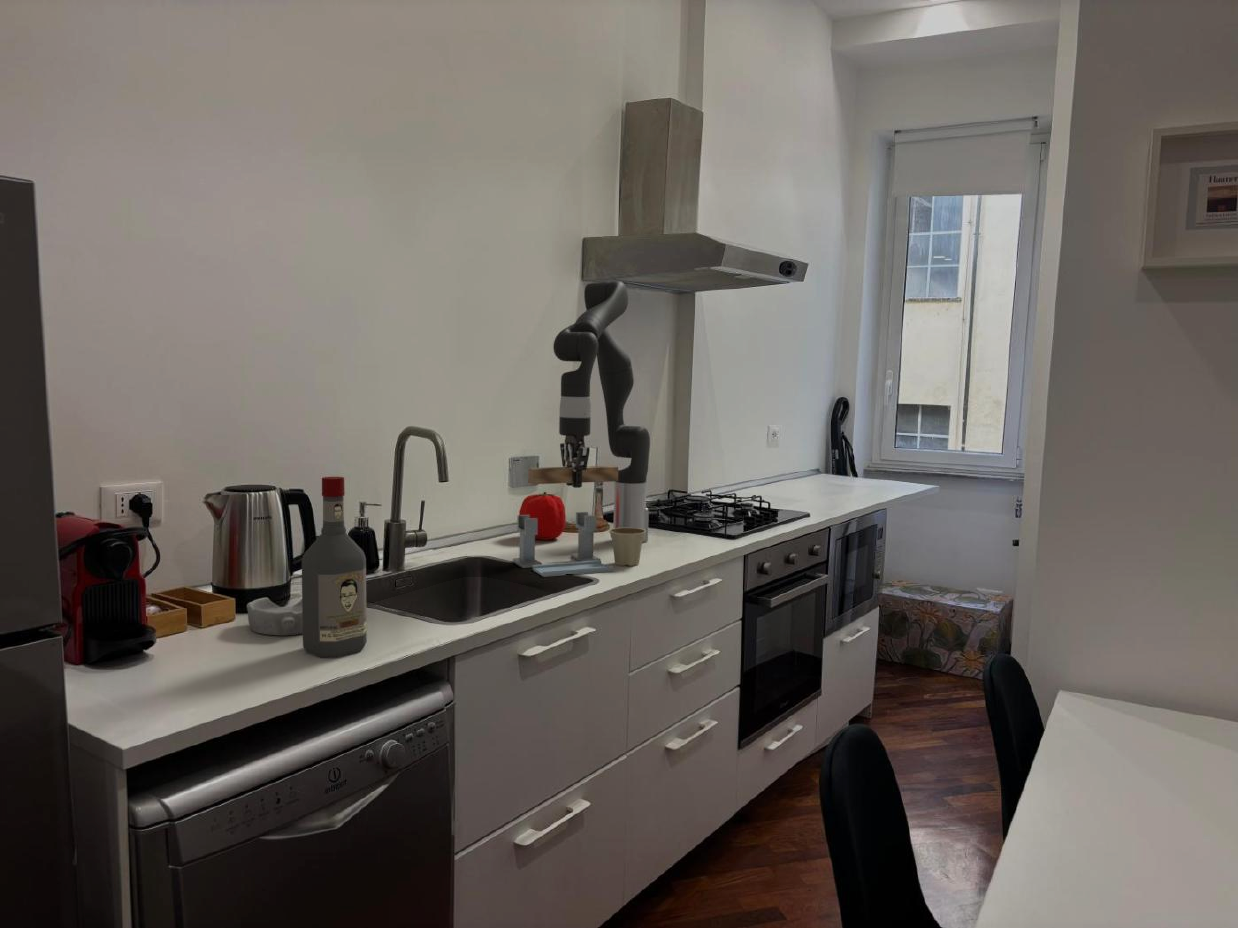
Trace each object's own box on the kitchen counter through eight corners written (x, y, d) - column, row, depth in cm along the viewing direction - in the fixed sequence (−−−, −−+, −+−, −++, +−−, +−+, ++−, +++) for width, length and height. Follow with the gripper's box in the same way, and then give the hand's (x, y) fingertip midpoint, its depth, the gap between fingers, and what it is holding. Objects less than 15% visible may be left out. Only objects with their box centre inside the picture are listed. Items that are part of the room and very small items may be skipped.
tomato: (560, 544, 258) (560, 496, 257) (512, 542, 260) (513, 494, 259) (572, 534, 274) (572, 489, 272) (527, 532, 276) (527, 487, 274)
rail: (612, 479, 229) (612, 465, 228) (618, 481, 226) (618, 467, 225) (528, 482, 220) (528, 467, 219) (533, 484, 216) (533, 469, 216)
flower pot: (602, 565, 232) (603, 531, 231) (616, 558, 240) (616, 526, 239) (637, 569, 228) (638, 534, 227) (650, 562, 237) (650, 529, 236)
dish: (237, 625, 173) (237, 600, 172) (309, 614, 182) (309, 589, 182) (267, 644, 162) (266, 616, 162) (341, 630, 171) (341, 604, 171)
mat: (599, 564, 232) (599, 560, 232) (612, 571, 225) (613, 566, 225) (532, 570, 225) (532, 565, 225) (543, 576, 217) (543, 571, 217)
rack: (588, 556, 243) (589, 511, 242) (600, 562, 236) (601, 515, 234) (512, 561, 234) (512, 515, 233) (522, 567, 227) (523, 520, 226)
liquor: (297, 649, 159) (294, 477, 156) (344, 638, 166) (342, 473, 163) (325, 661, 153) (323, 482, 150) (372, 649, 160) (371, 478, 157)
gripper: (601, 417, 216) (599, 489, 218) (578, 414, 229) (577, 482, 231) (571, 417, 213) (570, 490, 215) (550, 414, 226) (549, 483, 228)
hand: (573, 486), depth 223 cm, fingers closed on rail, 3 cm apart
